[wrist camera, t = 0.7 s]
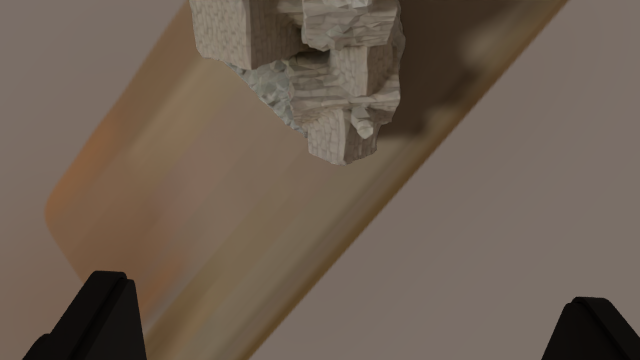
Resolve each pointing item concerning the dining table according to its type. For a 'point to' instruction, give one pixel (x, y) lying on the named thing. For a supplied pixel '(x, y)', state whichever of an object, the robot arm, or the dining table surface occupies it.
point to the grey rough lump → (313, 64)
